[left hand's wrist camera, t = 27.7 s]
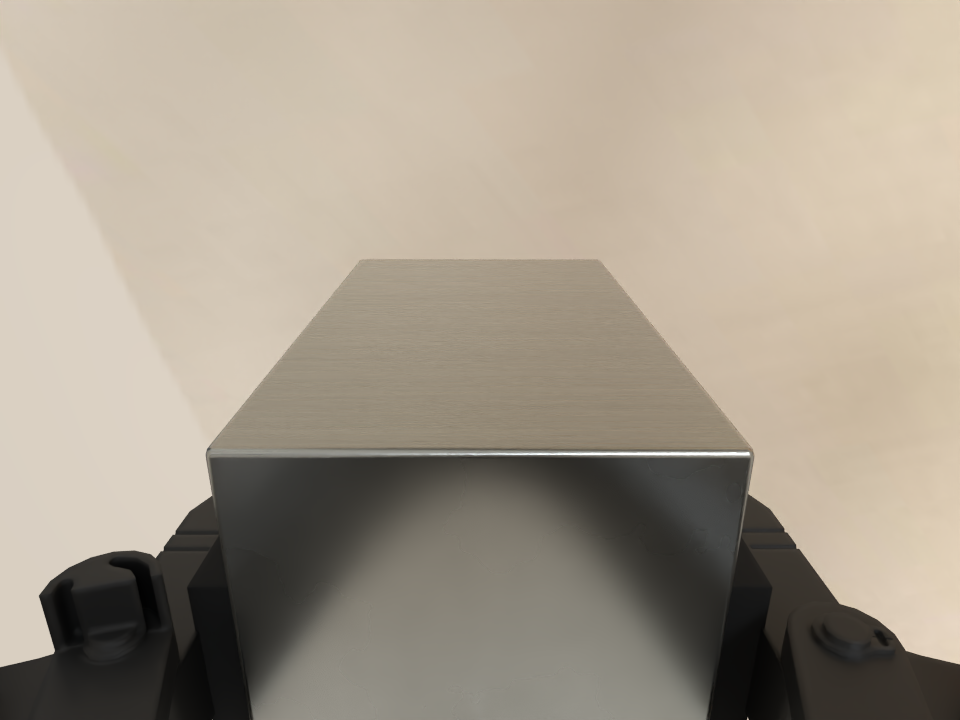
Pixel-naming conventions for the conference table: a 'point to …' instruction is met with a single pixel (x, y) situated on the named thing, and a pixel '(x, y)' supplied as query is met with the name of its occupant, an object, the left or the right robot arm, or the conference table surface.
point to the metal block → (479, 505)
